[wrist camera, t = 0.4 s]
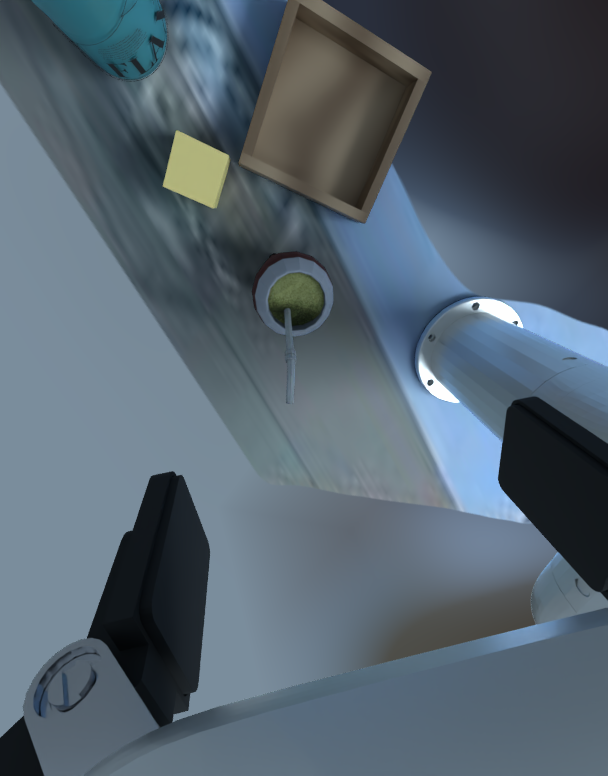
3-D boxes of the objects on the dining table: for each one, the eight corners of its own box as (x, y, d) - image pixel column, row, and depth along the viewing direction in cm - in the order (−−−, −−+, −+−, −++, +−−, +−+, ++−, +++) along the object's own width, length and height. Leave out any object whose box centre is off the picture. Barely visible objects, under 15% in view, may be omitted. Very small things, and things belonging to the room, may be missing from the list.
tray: (416, 83, 32) (431, 72, 29) (356, 221, 36) (365, 223, 33) (289, 2, 28) (293, -19, 26) (239, 165, 33) (238, 162, 30)
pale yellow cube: (230, 159, 32) (229, 154, 29) (216, 207, 34) (213, 208, 30) (183, 136, 31) (175, 128, 28) (171, 187, 33) (162, 186, 29)
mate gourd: (301, 232, 36) (334, 250, 22) (336, 304, 39) (383, 357, 26) (234, 271, 36) (227, 311, 23) (274, 338, 40) (288, 407, 27)
